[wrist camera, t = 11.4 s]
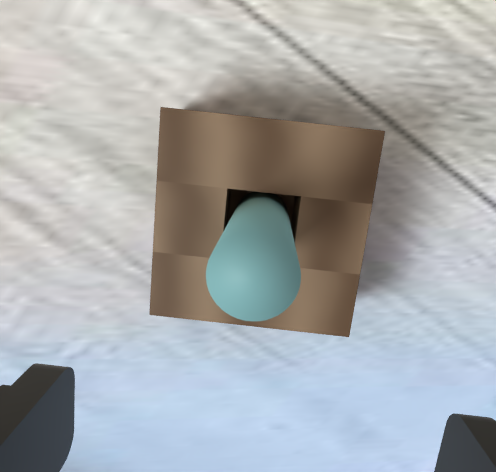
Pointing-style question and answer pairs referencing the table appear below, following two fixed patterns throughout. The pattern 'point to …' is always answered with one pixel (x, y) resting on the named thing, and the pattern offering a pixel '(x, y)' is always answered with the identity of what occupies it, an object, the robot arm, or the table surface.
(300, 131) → the bore block
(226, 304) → the pin
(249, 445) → the table surface
